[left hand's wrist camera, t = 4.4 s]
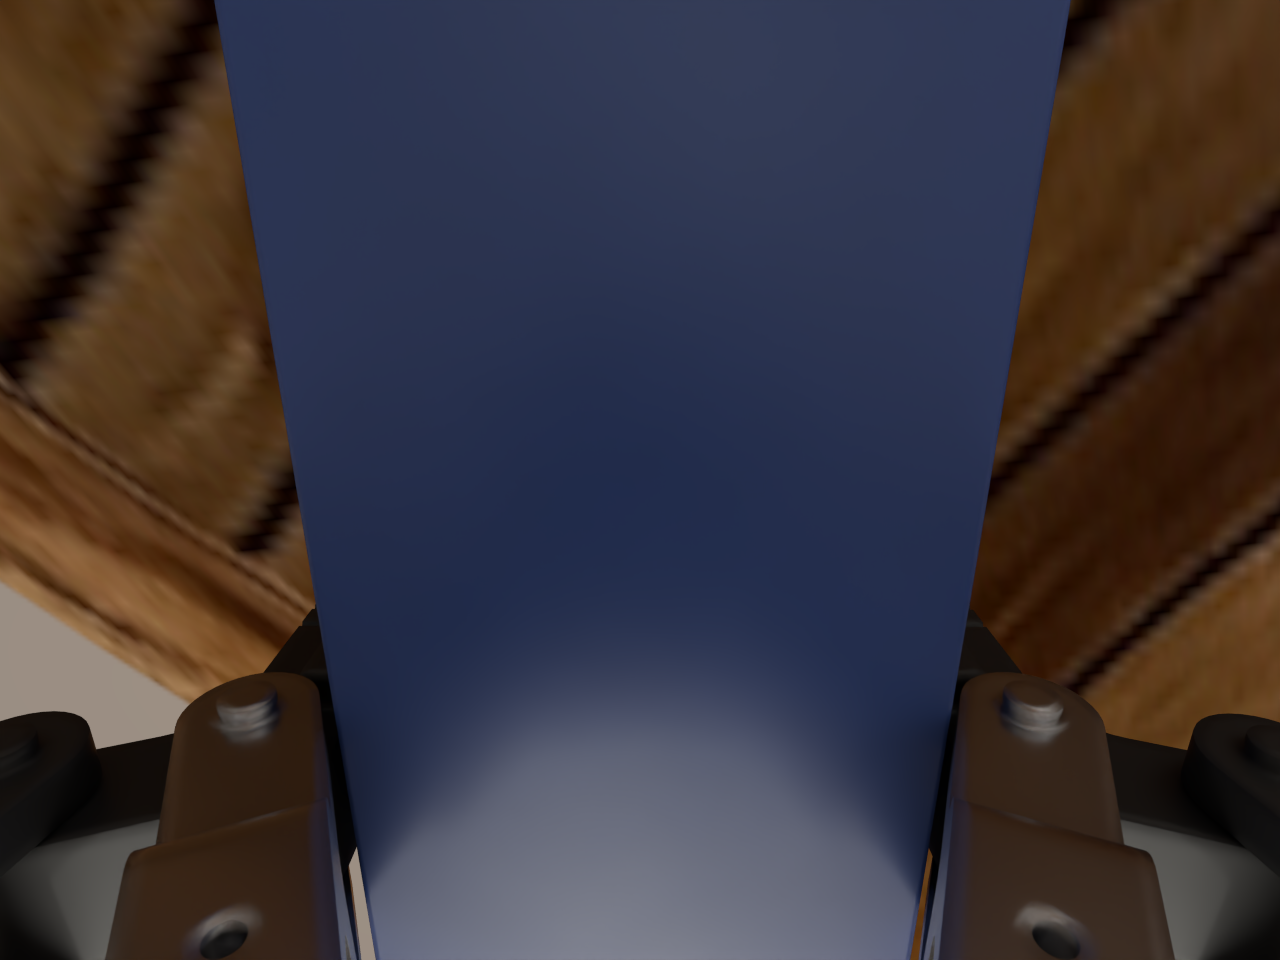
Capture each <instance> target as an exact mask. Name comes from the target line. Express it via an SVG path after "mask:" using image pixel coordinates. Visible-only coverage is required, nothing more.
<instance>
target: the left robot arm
mask: <svg viewBox="0 0 1280 960" xmlns="http://www.w3.org/2000/svg"><path fill="white" fill-rule="evenodd" d="M356 847H357V844H356V838H355V832H354V827H353V821H352V815H351V809H350V803H349V797H348V791H347V785H346V779H345V773H344V767H343V761H342V755H341V749H340V743H339V737H338V731H337V725H336V720H335V714H334V708H333V702H332V696H331V690H330V684H329V678H328V672H327V666H326V660H325V654H324V648H323V642H322V636H321V630H320V624H319V619H318V613H317V607H316V605H315V609H312V610H311V611H310V613H309V614H308V615H307V616H306V618H305V619H304V620H303V624H302V626H299V627H298V628H297V629H296V631H295V632H294V633H293V635H292V636H291V637H290V639H289V640H288V641H287V643H286V644H285V645H284V646H283V648H282V649H281V650H280V652H279V653H278V654H277V656H276V657H275V658H274V660H273V661H272V662H271V663H270V665H269V666H268V667H267V669H266V670H265V671H264V673H260V674H254V675H249V676H245V677H241V678H238V679H235V680H232V681H229V682H226V683H224V684H222V685H220V686H217V687H215V688H213V689H212V690H210V691H208V692H206V693H204V694H203V695H201V696H200V697H199V698H197V699H196V700H195V701H193V702H192V703H191V704H190V705H189V706H188V707H187V708H186V709H185V710H184V711H183V712H182V714H181V715H180V717H179V719H178V720H177V723H176V726H175V731H174V734H169V735H165V736H161V737H156V738H151V739H146V740H141V741H136V742H131V743H126V744H121V745H116V746H111V747H106V748H101V749H96V747H95V744H94V741H93V737H92V734H91V731H90V727H89V725H88V723H87V721H86V720H84V719H83V718H82V717H80V716H78V715H76V714H73V713H68V712H58V711H51V712H38V713H31V714H26V715H21V716H17V717H13V718H10V719H6V720H3V721H0V960H361V953H360V945H359V937H358V929H357V920H356V912H355V904H354V896H353V888H352V881H351V875H350V869H349V863H350V861H351V859H352V857H353V854H354V852H355V849H356ZM929 849H930V851H931V853H932V856H933V858H932V863H931V869H930V875H929V881H928V888H927V896H926V904H925V912H924V920H923V929H922V937H921V945H920V953H919V960H1280V723H1279V722H1276V721H1273V720H1269V719H1265V718H1260V717H1256V716H1250V715H1243V714H1217V715H1212V716H1208V717H1206V718H1203V719H1201V720H1200V721H1199V722H1198V723H1197V724H1196V726H1195V728H1194V730H1193V733H1192V736H1191V740H1190V743H1189V746H1188V750H1183V749H1178V748H1173V747H1168V746H1163V745H1158V744H1153V743H1148V742H1143V741H1138V740H1133V739H1128V738H1124V737H1119V736H1115V735H1111V734H1108V733H1106V731H1105V726H1104V723H1103V720H1102V719H1101V717H1100V715H1099V714H1098V712H1097V711H1096V710H1095V709H1094V708H1093V707H1092V706H1091V705H1090V704H1089V703H1088V702H1087V701H1085V700H1084V699H1083V698H1081V697H1080V696H1079V695H1077V694H1076V693H1074V692H1072V691H1070V690H1068V689H1067V688H1065V687H1063V686H1060V685H1058V684H1056V683H1054V682H1051V681H1048V680H1045V679H1042V678H1039V677H1035V676H1031V675H1026V674H1022V673H1021V671H1020V670H1019V669H1018V667H1017V666H1016V665H1015V664H1014V662H1013V661H1012V660H1011V658H1010V657H1009V656H1008V655H1007V653H1006V652H1005V651H1004V649H1003V648H1002V647H1001V646H1000V644H999V643H998V642H997V640H996V639H995V638H994V636H993V635H992V634H991V633H990V631H989V630H988V629H987V627H983V622H982V621H981V620H980V618H979V617H978V616H977V615H976V613H975V612H974V611H973V610H970V606H969V610H968V616H967V622H966V628H965V634H964V640H963V646H962V652H961V658H960V664H959V670H958V676H957V682H956V688H955V693H954V699H953V705H952V711H951V717H950V723H949V729H948V735H947V741H946V747H945V753H944V759H943V765H942V771H941V777H940V783H939V789H938V795H937V801H936V807H935V813H934V819H933V825H932V831H931V837H930V843H929Z"/></svg>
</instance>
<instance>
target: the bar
mask: <svg viewBox="0 0 1280 960" xmlns="http://www.w3.org/2000/svg"><path fill="white" fill-rule="evenodd" d="M1070 1H1071V0H215V6H216V12H217V18H218V24H219V30H220V36H221V42H222V48H223V54H224V60H225V66H226V72H227V78H228V84H229V90H230V96H231V101H232V107H233V113H234V119H235V125H236V131H237V137H238V143H239V149H240V155H241V161H242V167H243V173H244V179H245V185H246V191H247V197H248V203H249V208H250V214H251V220H252V226H253V232H254V238H255V244H256V250H257V256H258V262H259V268H260V274H261V280H262V286H263V292H264V298H265V304H266V309H267V315H268V321H269V327H270V333H271V339H272V345H273V351H274V357H275V363H276V369H277V375H278V381H279V387H280V393H281V399H282V405H283V411H284V416H285V422H286V428H287V434H288V440H289V446H290V452H291V458H292V464H293V470H294V476H295V482H296V488H297V494H298V500H299V506H300V512H301V517H302V523H303V529H304V535H305V541H306V547H307V553H308V559H309V565H310V571H311V577H312V583H313V589H314V595H315V601H316V607H317V613H318V619H319V624H320V630H321V636H322V642H323V648H324V654H325V660H326V666H327V672H328V678H329V684H330V690H331V696H332V702H333V708H334V714H335V720H336V725H337V731H338V737H339V743H340V749H341V755H342V761H343V767H344V773H345V779H346V785H347V791H348V797H349V803H350V809H351V815H352V821H353V827H354V832H355V838H356V844H357V850H358V856H359V862H360V868H361V874H362V880H363V886H364V892H365V898H366V904H367V910H368V916H369V922H370V928H371V933H372V939H373V945H374V951H375V957H376V960H910V956H911V950H912V944H913V938H914V932H915V926H916V920H917V914H918V908H919V902H920V897H921V891H922V885H923V879H924V873H925V867H926V861H927V855H928V849H929V843H930V837H931V831H932V825H933V819H934V813H935V807H936V801H937V795H938V789H939V783H940V777H941V771H942V765H943V759H944V753H945V747H946V741H947V735H948V729H949V723H950V717H951V711H952V705H953V699H954V693H955V688H956V682H957V676H958V670H959V664H960V658H961V652H962V646H963V640H964V634H965V628H966V622H967V616H968V610H969V604H970V598H971V592H972V586H973V580H974V574H975V568H976V562H977V556H978V550H979V544H980V538H981V532H982V526H983V520H984V514H985V508H986V502H987V496H988V490H989V485H990V479H991V473H992V467H993V461H994V455H995V449H996V443H997V437H998V431H999V425H1000V419H1001V413H1002V407H1003V401H1004V395H1005V389H1006V383H1007V377H1008V371H1009V365H1010V359H1011V353H1012V347H1013V341H1014V335H1015V329H1016V323H1017V317H1018V311H1019V305H1020V299H1021V293H1022V287H1023V282H1024V276H1025V270H1026V264H1027V258H1028V252H1029V246H1030V240H1031V234H1032V228H1033V222H1034V216H1035V210H1036V204H1037V198H1038V192H1039V186H1040V180H1041V174H1042V168H1043V162H1044V156H1045V150H1046V144H1047V138H1048V132H1049V126H1050V120H1051V114H1052V108H1053V102H1054V96H1055V90H1056V84H1057V79H1058V73H1059V67H1060V61H1061V55H1062V49H1063V43H1064V37H1065V31H1066V25H1067V19H1068V13H1069V7H1070Z"/></svg>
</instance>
